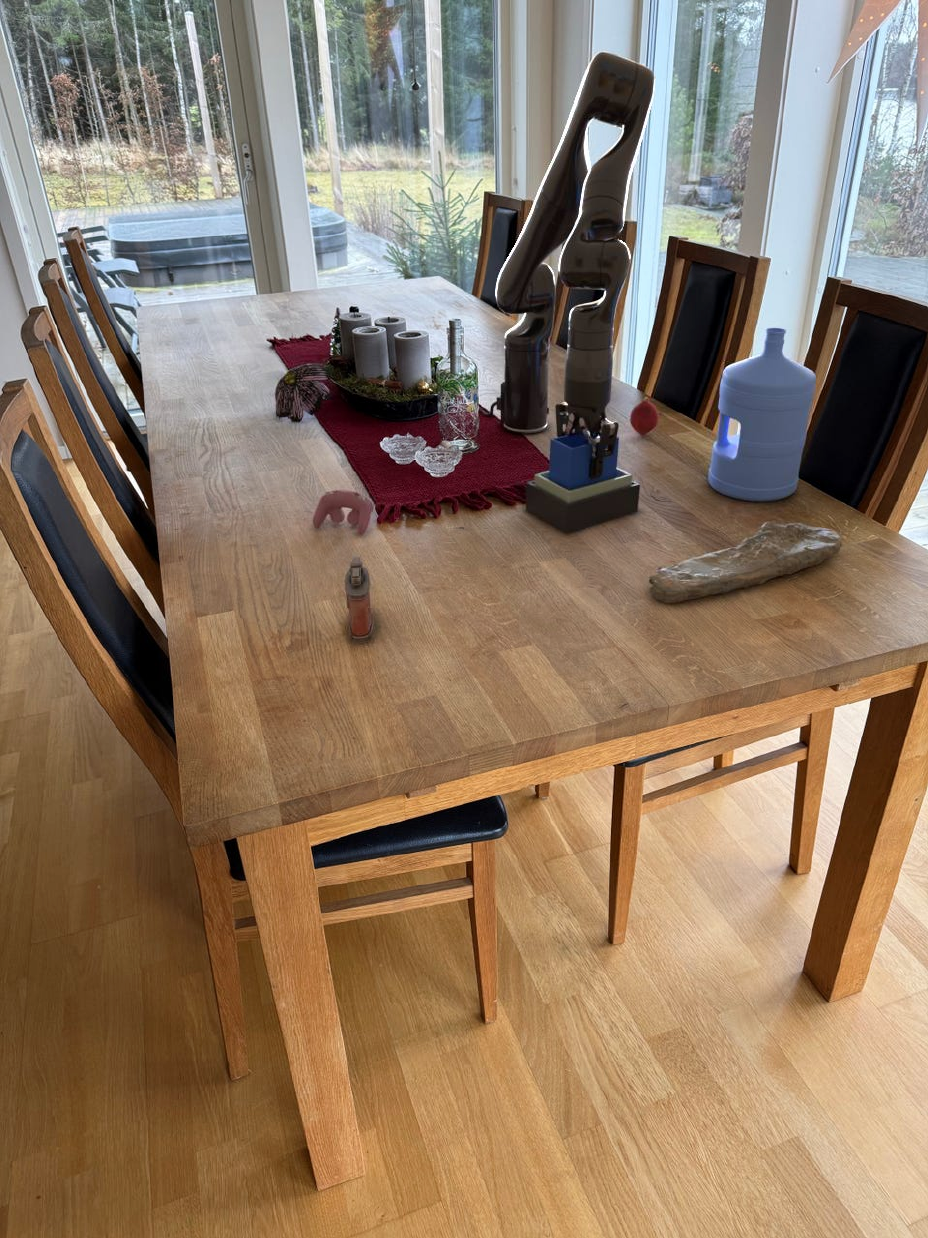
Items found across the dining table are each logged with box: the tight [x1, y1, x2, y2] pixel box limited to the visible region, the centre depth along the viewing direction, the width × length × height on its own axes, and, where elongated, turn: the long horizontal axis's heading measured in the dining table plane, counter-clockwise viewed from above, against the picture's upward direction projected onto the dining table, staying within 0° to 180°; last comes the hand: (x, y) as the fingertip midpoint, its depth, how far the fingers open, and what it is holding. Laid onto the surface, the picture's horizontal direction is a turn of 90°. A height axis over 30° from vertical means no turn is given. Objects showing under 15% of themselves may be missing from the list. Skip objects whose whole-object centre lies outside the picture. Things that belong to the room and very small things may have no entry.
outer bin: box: [525, 480, 641, 535], centre depth 155 cm, size 16×12×5 cm
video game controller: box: [312, 489, 375, 535], centre depth 152 cm, size 10×5×7 cm, turn 71°
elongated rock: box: [648, 520, 843, 604], centre depth 135 cm, size 35×5×10 cm
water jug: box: [707, 327, 817, 502], centre depth 157 cm, size 16×16×28 cm
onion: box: [629, 396, 659, 436], centre depth 186 cm, size 6×6×8 cm
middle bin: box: [533, 467, 633, 503], centre depth 154 cm, size 14×10×6 cm
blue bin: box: [548, 434, 620, 489], centre depth 151 cm, size 10×6×7 cm, turn 122°
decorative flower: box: [274, 362, 332, 423], centre depth 202 cm, size 14×12×15 cm
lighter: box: [344, 556, 375, 644], centre depth 122 cm, size 8×3×10 cm, turn 5°
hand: (582, 471), depth 152 cm, fingers closed on blue bin, 5 cm apart
